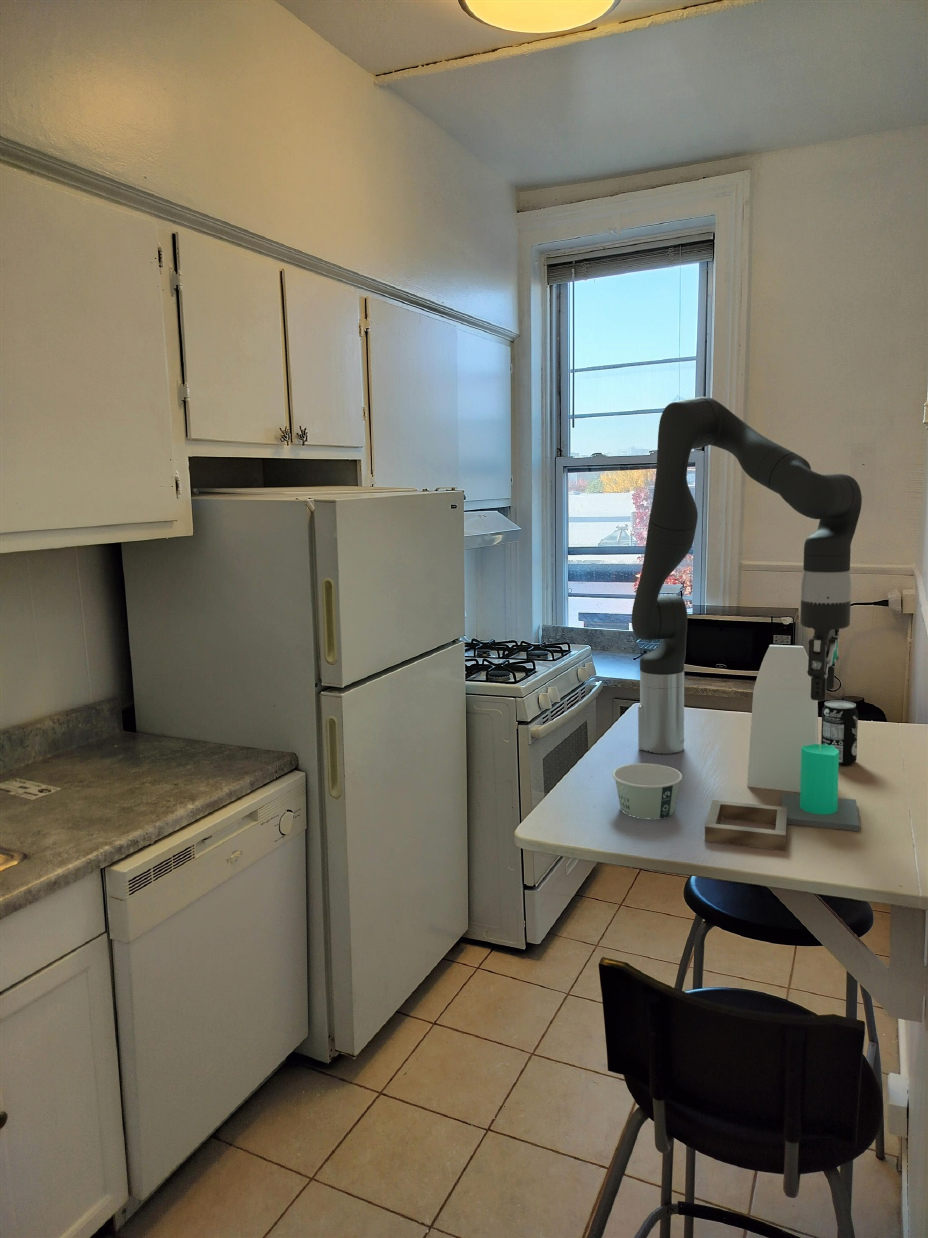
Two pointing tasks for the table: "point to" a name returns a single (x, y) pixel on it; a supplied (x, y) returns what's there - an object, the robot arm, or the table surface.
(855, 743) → the beverage can
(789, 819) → the plate
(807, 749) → the candle
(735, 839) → the open wooden box
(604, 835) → the table surface
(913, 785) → the table surface
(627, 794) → the food container
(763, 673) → the milk
